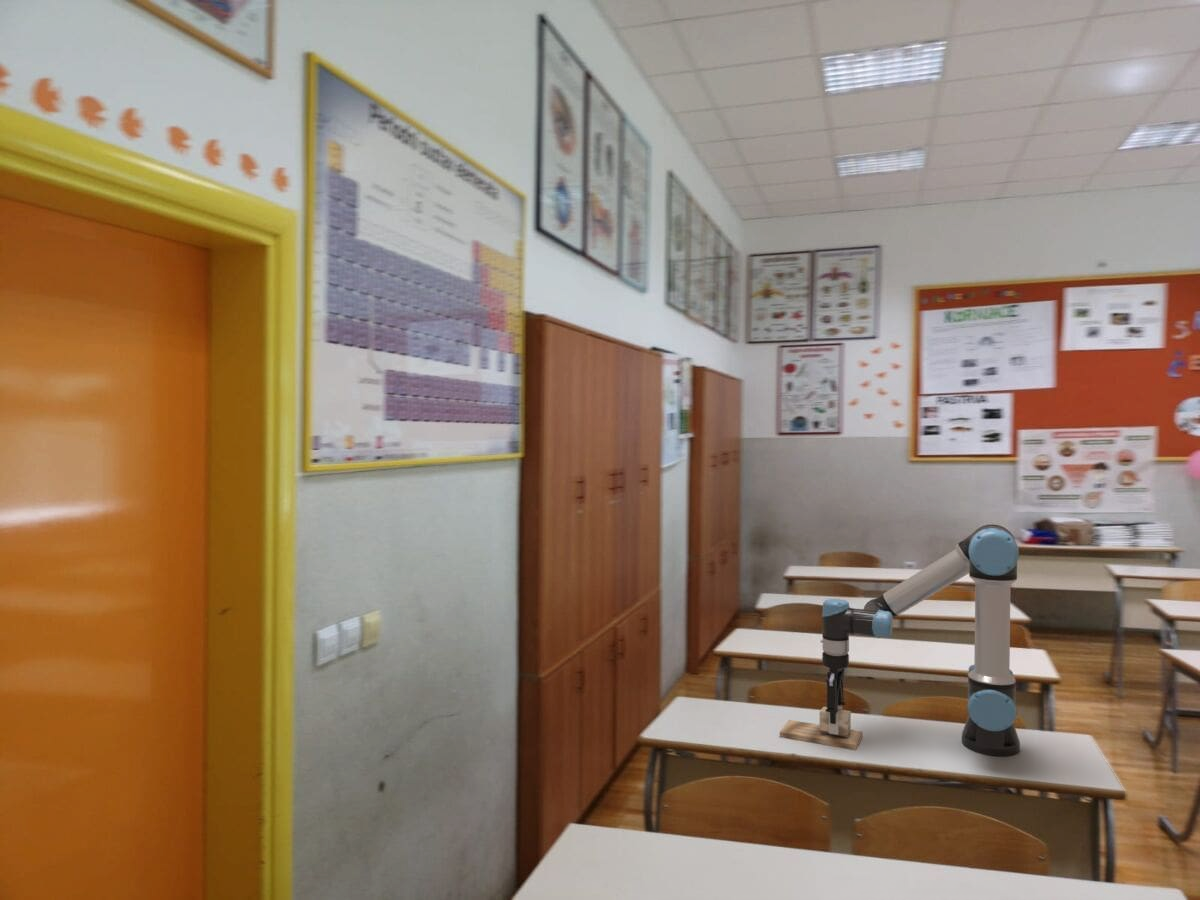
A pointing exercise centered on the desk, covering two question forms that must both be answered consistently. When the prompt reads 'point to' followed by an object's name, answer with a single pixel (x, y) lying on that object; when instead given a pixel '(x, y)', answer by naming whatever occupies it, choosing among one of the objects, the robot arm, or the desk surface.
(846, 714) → the block
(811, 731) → the board
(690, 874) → the desk surface
